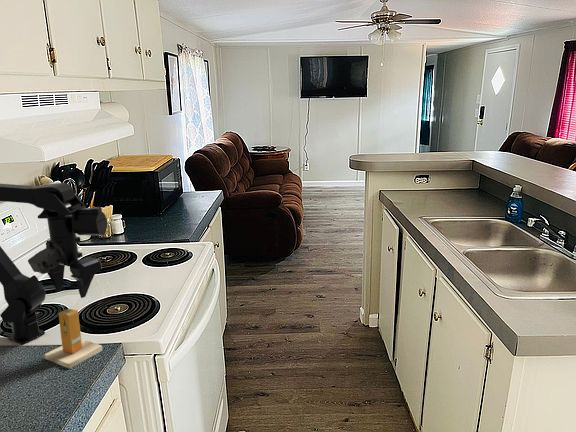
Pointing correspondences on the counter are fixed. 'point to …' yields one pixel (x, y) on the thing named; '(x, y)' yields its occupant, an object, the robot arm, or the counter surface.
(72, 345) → the supplement box
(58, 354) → the birch board
